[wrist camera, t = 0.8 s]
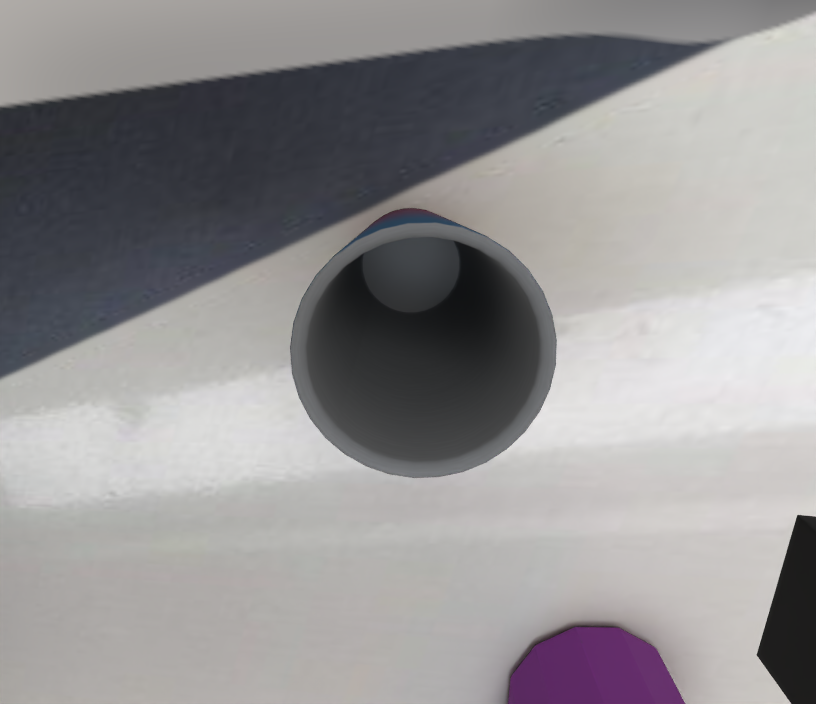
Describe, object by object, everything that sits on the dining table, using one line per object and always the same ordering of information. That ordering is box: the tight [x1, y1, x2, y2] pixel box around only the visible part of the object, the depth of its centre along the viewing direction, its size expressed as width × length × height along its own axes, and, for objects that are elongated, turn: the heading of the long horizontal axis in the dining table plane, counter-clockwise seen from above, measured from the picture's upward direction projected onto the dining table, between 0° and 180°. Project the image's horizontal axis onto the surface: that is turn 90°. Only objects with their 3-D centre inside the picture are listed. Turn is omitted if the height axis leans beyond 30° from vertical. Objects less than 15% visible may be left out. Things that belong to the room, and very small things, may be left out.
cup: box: [290, 208, 557, 478], centre depth 25 cm, size 7×7×15 cm
